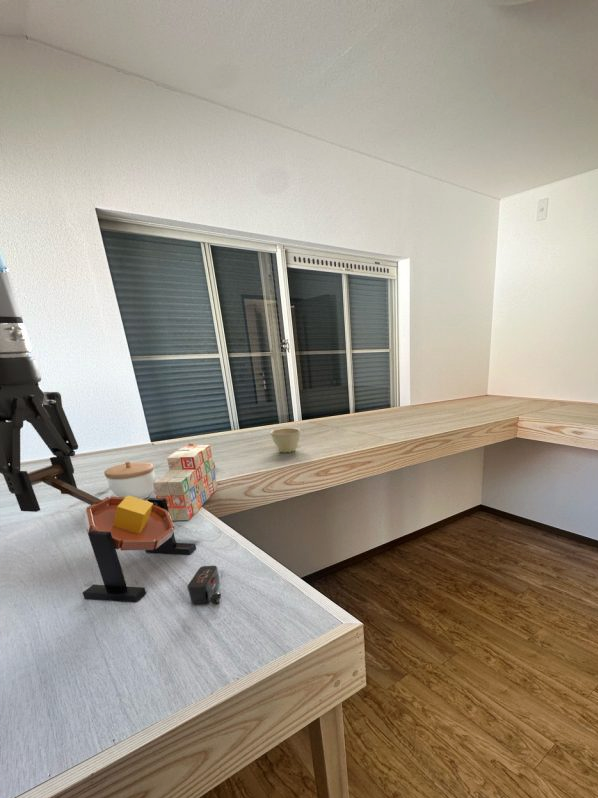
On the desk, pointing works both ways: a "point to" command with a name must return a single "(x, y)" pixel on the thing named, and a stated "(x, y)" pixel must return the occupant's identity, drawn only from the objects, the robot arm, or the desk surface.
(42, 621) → the desk surface
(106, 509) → the tipping bowl
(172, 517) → the stack of blocks
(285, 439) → the flower pot
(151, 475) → the trinket box
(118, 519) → the block
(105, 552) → the bowl stand
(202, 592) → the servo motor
